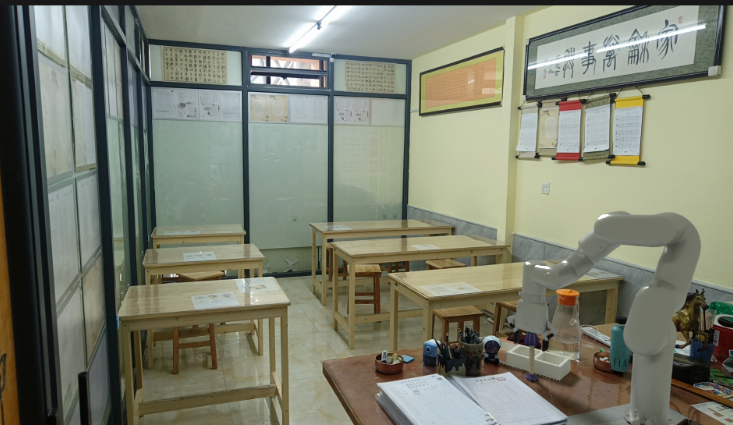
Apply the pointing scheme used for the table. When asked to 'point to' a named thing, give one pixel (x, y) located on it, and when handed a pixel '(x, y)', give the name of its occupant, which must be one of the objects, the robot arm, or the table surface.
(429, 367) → the table surface
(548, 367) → the rack
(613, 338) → the beverage bottle
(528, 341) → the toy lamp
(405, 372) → the table surface
